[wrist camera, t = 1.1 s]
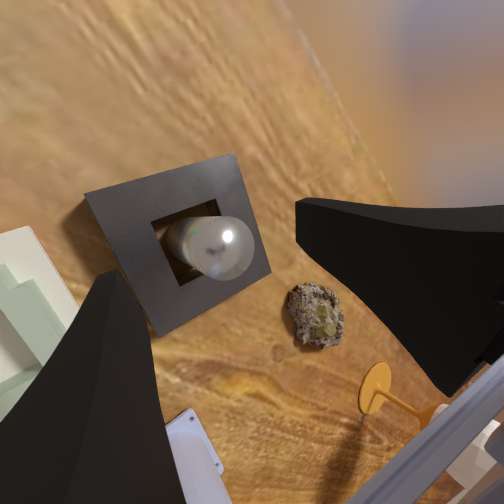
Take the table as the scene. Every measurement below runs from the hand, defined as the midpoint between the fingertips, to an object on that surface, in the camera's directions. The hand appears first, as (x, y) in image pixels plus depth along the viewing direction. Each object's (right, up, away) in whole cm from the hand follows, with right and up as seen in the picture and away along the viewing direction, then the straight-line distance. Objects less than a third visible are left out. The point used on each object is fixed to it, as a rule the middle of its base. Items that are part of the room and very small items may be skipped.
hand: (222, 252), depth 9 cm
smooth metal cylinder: (-5, +1, +12) cm, 13 cm away
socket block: (-5, +1, +12) cm, 13 cm away
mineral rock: (+9, -8, +22) cm, 25 cm away
